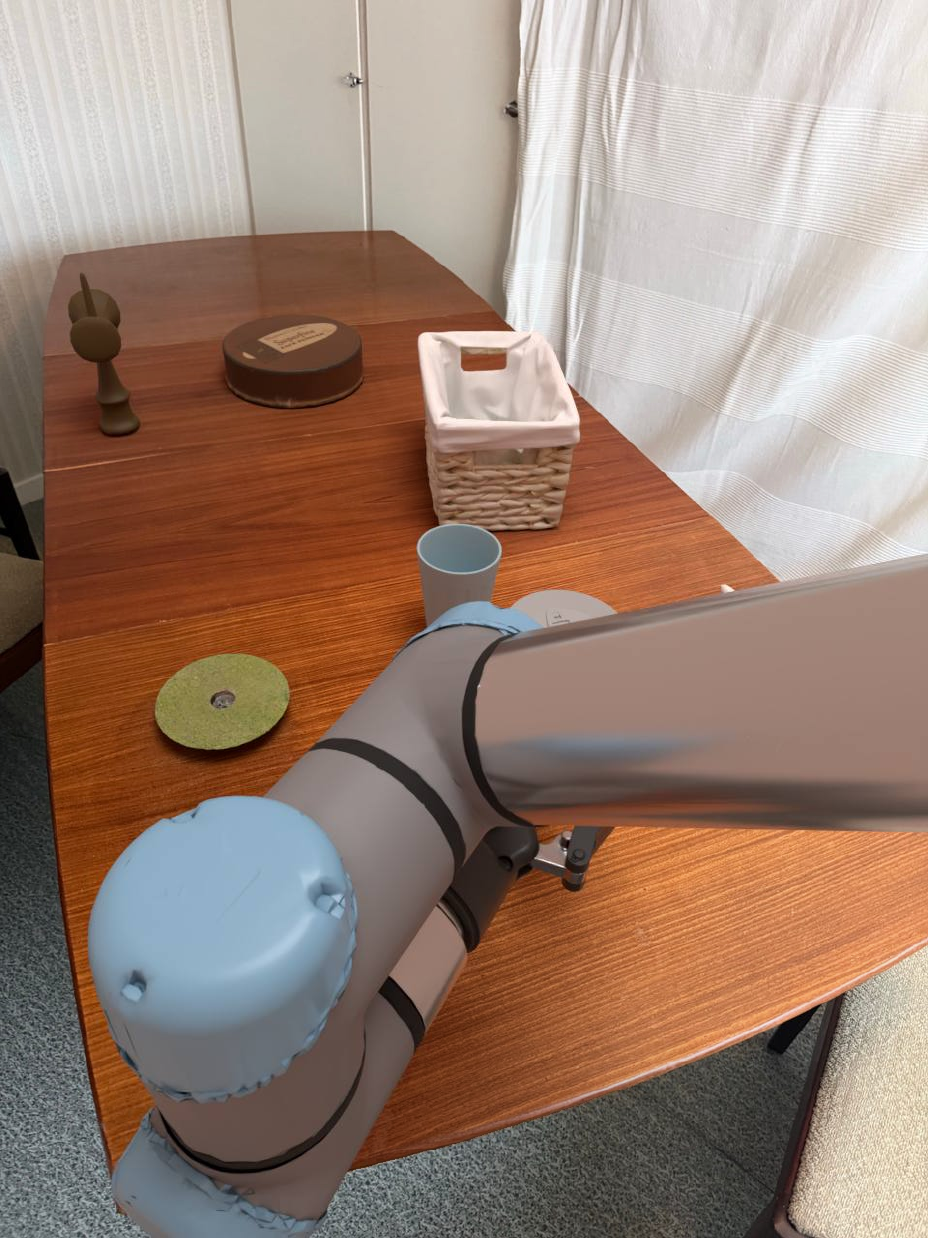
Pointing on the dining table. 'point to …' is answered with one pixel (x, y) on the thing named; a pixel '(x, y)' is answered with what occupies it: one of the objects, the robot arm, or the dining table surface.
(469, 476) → the basket
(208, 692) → the green grinding disc
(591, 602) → the canned food
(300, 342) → the container
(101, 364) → the kendama
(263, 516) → the dining table surface
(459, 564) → the cup
